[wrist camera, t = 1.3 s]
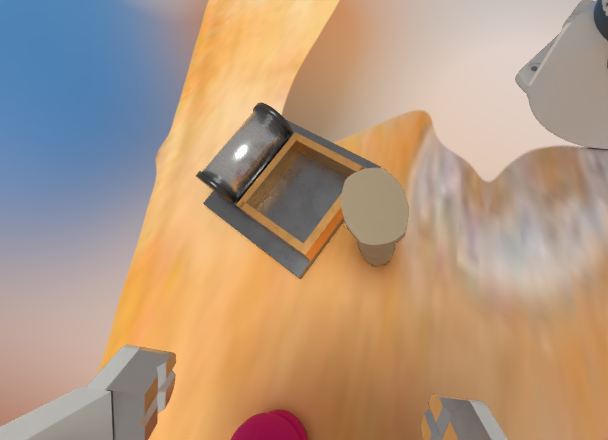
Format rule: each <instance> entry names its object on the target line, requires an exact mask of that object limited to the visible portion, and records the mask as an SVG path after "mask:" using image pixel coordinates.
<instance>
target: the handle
mask: <svg viewBox="0 0 608 440" xmlns="http://www.w3.org/2000/svg"><path fill="white" fill-rule="evenodd" d="M341 208H342V212H343V216H344V220H345V224H346V226H347V228H348V230H349V231H350V233H351V234H352V235H353V236H354V238H355V239H356V240H357V241H358V246H359V249H360V251H361V253H362V255H363V257H364V258H365V259H366V260H367V261H368V262H369V263H371V264H372V266H375V267H377V266H378V265H381V264H384V265H386V264H387V263H388V262H389V259H390V258H391V257H392V255H393V253H394V250H395V245H396V243H397V242H399V241H400V240H401V239H402V238H403V237H404V236H405V232H406V227H407V222H408V216H409V206H408V202H407V199H406V196H405V193H404V190H403V188H402V186H401V184H400V183H399V182H398V181H397V180H396V179H395V178H394V177H393V176H392V175H391V174H390V173H389V172H388V171H387V170H386V169H382V168H367V169H363V170H360V171H357V172H355V173H353V174H352V175H350V176H349V177H348V178H347V179H346V180H345V182H344V186H343V190H342V194H341Z"/></svg>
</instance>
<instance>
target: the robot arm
mask: <svg viewBox="0 0 608 440" xmlns="http://www.w3.org/2000/svg"><path fill="white" fill-rule="evenodd" d="M515 80H516V82H517V84H518V85H519V87H520V88H521V89H522V90H523V91H524V92H525V93H526V94H527V96H528V99H529V103H530V107H531V110H532V112H533V114H534V116H535V117H536V119H537V120H538V121H539V122H540V123H541V124H542V126H544V127H545V128H546V129H547V130H548V131H550V132H551V133H553V134H554V135H556V136H558V137H560V138H562V139H564V140H567V141H569V142H572V143H575V144H578V145H582V146H586V147H592V148H600V149H608V0H597V1H592V0H582V1H581V2H580V3H579V4H578V5H577V7H576V8H575V9H574V11H573V12H572V14H571V16H570V17H569V18H568V19H567V20H566V22H565V23H564V25H563V29H562V31H561V32H560V34H559V35H558V36H556V37H555V38H554V39H553V40H552V41H551V42H550V43H549V44H548V45H547V46H546V47H545V48H544V49H542V50H541V51H540V52H539V53H538V54H537V55H536V56H535V57H534V58H533V59H532V60H531V61H530V62H529V63H527V65H525V66H524V67H523V68H522V69H521V70H520V71H519V73H518V74H517V76H516V78H515ZM175 364H176V354H175V353H172V352H167V351H161V350H156V349H150V348H145V347H138V346H132V345H125V346H123V347H122V348H121V349H120V350H119V351H118V352H117V353H116V354H115V356H114V357H113V358H112V359H111V360H110V361H109V362H108V363H107V364H106V366H105V367H104V368H103V369H102V370H101V371H100V372H99V373H98V374H97V376H96V377H95V378H94V379H93V380H92V381H91V382H90V384H89V385H88V386H87V387H79V388H77V389H75V390H73V391H71V392H69V393H67V394H65V395H63V396H61V397H59V398H57V399H55V400H53V401H51V402H49V403H47V404H45V405H43V406H41V407H39V408H37V409H35V410H33V411H31V412H29V413H27V414H25V415H23V416H21V417H19V418H17V419H15V420H13V421H11V422H9V423H7V424H5V425H3V426H1V427H0V440H148V439H149V437H150V435H151V433H152V432H153V430H154V428H155V426H156V424H157V415H158V413H159V412H161V411H162V410H164V409H165V408H166V406H167V404H168V402H169V400H170V397H171V395H172V392H173V389H174V384H175V375H176V374H175V373H174V372H173V370H172V369H173V367H174V365H175ZM428 404H429V406H430V410H429V411H428V412H426V413H425V414H424V416H423V419H422V422H421V433H422V439H423V440H508V439H507V437H506V435H505V434H504V432H503V431H502V429H501V427H500V426H499V424H498V423H497V421H496V419H495V418H494V416H493V415H492V413H491V411H490V410H489V408H488V407H487V405H486V404H485V403H484V402H482V401H478V400H471V399H464V398H457V397H451V396H444V395H437V394H433V395H432V396H431V397H430V400H429V402H428Z"/></svg>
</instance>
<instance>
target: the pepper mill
mask: <svg viewBox="0 0 608 440" xmlns="http://www.w3.org/2000/svg"><path fill="white" fill-rule="evenodd" d="M231 440H308V439H307V435H306V432H305V429H304V427H303V425H302V424H301V422H300V421H299V420H298V418H297V417H295V416H294V415H293V414H291V413H289V412H287V411H284V410H274V411H271V412H269V413H261V414H257V415H255V416H252V417H251V418H249V419H248V420H247V421H245V422H244V423H243V424H242V425H241V426H240V427H239V428H238V429H237V431H236V432H235V433H234V435H233V437H232V438H231Z"/></svg>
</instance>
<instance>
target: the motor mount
mask: <svg viewBox="0 0 608 440" xmlns="http://www.w3.org/2000/svg"><path fill="white" fill-rule="evenodd" d="M367 168H381V167H380V166H378V165H376V164H374V163H372V162H370V161H368V160H366V159H364V158H362V157H360V156H358V155H356V154H354V153H352V152H350V151H348V150H346V149H344V148H342V147H340V146H338V145H336V144H334V143H332V142H330V141H328V140H326V139H324V138H321V137H319V136H317V135H315V134H313V133H311V132H309V131H307V130H305V129H303V128H301V127H299V126H297V125H295V124H293V123H291V122H289V121H287V120H285V119H284V118H283V117H282V116H281V115H280V114H279V113H278V112H277V111H276V110H274V109H273V108H272V107H270V106H268V105H266V104H264V103H258V104H257V105H256V106H255V107H254V109H253V113H252V114H251V115H250V116H249V118H248V119H247V120H246V121H245V122H244V123H243V125H242V126H241V127H240V128H239V129H238V131H237V132H236V133H235V134H234V135H233V136H232V138H231V139H230V140H229V141H228V142H227V143H226V145H225V146H224V147H223V148H222V149H221V150H220V152H219V153H218V154H217V155H216V156H215V157H214V159H213V160H212V161H211V162H210V163H209V164H208V166H207V167H206V168H205V169H204V170H203V171H202V172H201V171H199V172H198V174H197V175H196V177H197V178H198V179H200V180H201V181H202V182H203V183H204V184H206V185H207V186H208V187H209V188H211V189H212V190H213V192H212V193H211V195H210V196H209V197H208V198H207V199H206V201H205V202H204V203H203V204H204V205H206V206H207V207H208V208H210V209H211V210H212V211H213V212H215V213H216V214H217V215H219V216H220V217H221V218H222V219H224V220H225V221H226V222H228V223H229V224H230V225H231V226H233V227H234V228H235V229H237V230H238V231H239V232H241V233H242V234H243V235H244V236H246V237H247V238H248V239H250V240H251V241H252V242H253V243H255V244H256V245H257V246H259V247H260V248H261V249H262V250H264V251H265V252H266V253H268V254H269V255H270V256H272V257H273V258H274V259H275V260H277V261H278V262H279V263H281V264H282V265H283V266H284V267H286V268H287V269H288V270H290V271H291V272H292V273H294V274H295V275H296V276H297V277H299V278H300V279H301V278H302V277H303V275H304V274H305V273H306V271H307V270H308V269H309V267H310V266H311V265H312V263H313V262H314V261H315V259H316V258H317V256H318V255H319V254H320V252H321V251H322V250H323V248H324V247H325V246H326V244H327V243H328V242H329V240H330V239H331V238H332V236H333V235H334V233H335V232H336V231H337V229H338V228H339V227H340V225H341V224H342V223H343V221H344V216H343V212H342V208H341V194H342V190H343V186H344V182H345V180H346V179H347V178H348V177H349V176H350V175H352V174H353V173H355V172H357V171H360V170H363V169H367Z"/></svg>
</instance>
